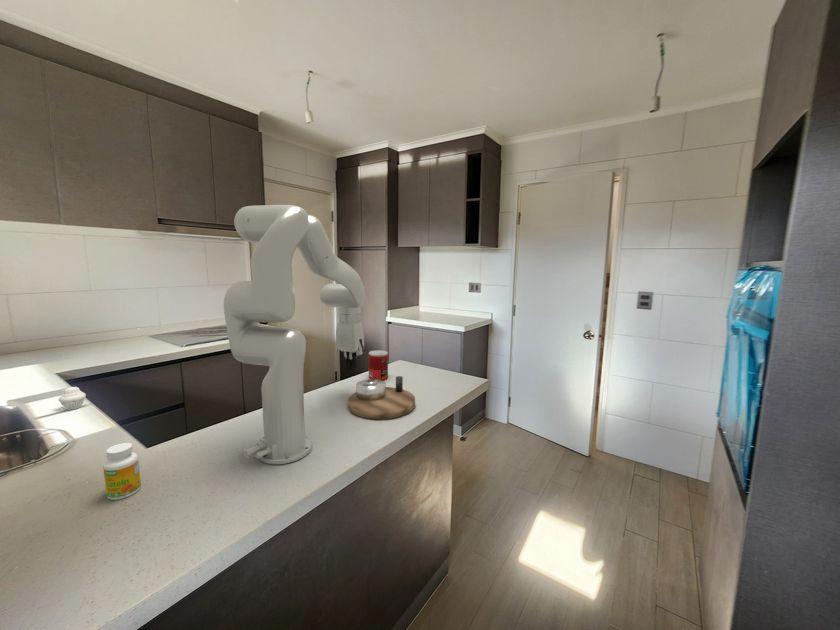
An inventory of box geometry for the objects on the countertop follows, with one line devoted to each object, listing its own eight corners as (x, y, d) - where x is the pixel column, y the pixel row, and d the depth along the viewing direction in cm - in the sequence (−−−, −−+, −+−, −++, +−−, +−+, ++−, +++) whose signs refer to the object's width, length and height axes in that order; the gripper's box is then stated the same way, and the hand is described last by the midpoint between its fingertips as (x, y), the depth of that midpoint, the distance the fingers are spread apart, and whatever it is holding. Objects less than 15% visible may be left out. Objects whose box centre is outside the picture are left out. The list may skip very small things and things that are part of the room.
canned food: (384, 382, 140) (384, 355, 139) (365, 380, 142) (365, 354, 140) (390, 376, 148) (390, 350, 146) (372, 374, 149) (372, 349, 148)
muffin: (80, 410, 110) (77, 389, 109) (55, 413, 108) (52, 391, 107) (91, 403, 116) (88, 382, 115) (67, 405, 114) (64, 384, 113)
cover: (371, 403, 113) (371, 388, 112) (349, 396, 119) (349, 381, 118) (391, 394, 121) (391, 380, 120) (370, 387, 127) (370, 374, 126)
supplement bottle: (102, 503, 68) (96, 457, 67) (113, 487, 73) (107, 443, 72) (136, 496, 70) (131, 451, 69) (144, 481, 75) (140, 439, 74)
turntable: (384, 425, 102) (384, 402, 101) (334, 406, 115) (333, 386, 114) (427, 402, 120) (428, 382, 118) (379, 387, 132) (379, 370, 131)
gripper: (327, 317, 123) (328, 367, 126) (357, 322, 115) (358, 376, 118) (343, 314, 129) (344, 362, 132) (373, 319, 121) (373, 370, 124)
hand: (351, 368), depth 125 cm, fingers closed
